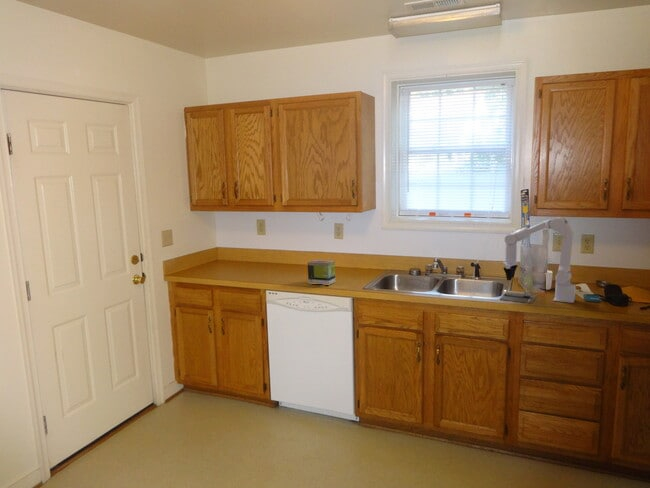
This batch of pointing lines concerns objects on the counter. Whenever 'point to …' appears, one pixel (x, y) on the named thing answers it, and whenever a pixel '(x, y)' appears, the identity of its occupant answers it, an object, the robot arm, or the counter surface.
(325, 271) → the tea box
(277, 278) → the counter surface
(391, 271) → the counter surface
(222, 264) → the counter surface
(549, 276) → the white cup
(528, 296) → the lever
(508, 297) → the lock plate
